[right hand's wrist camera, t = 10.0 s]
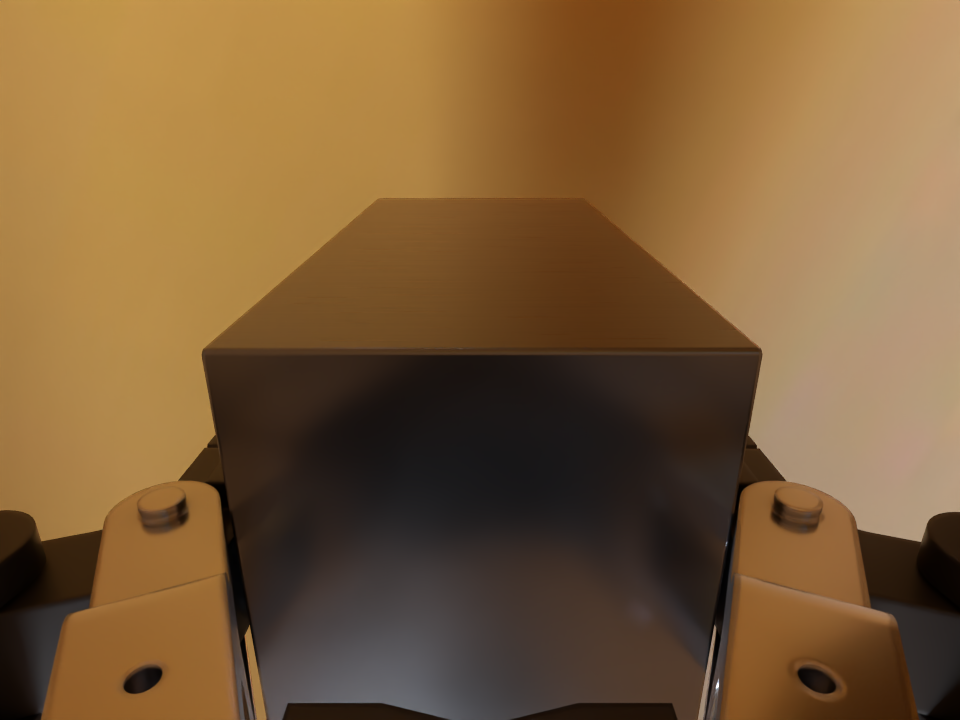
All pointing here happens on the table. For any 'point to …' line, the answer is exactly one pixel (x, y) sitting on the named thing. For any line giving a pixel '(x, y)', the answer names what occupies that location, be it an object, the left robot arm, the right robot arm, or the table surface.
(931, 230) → the table surface
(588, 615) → the box
